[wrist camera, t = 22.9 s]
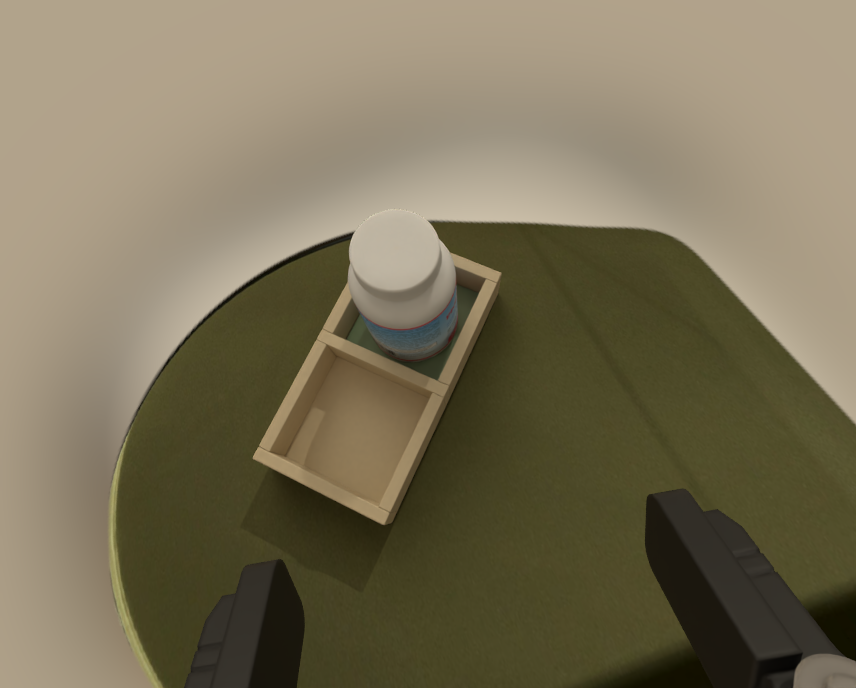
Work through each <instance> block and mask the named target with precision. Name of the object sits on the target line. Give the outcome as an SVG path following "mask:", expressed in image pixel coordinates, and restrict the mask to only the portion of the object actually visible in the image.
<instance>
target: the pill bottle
mask: <svg viewBox="0 0 856 688" xmlns="http://www.w3.org/2000/svg"><path fill="white" fill-rule="evenodd" d="M349 258H350V267H349V271H348V285H349V290H350V294H351V296H352V299H353V301H354V303H355V305H356V307H357V309H358V311H359V313H360V314H361V316H362V318H363V320H364V322H365V324H366V326H367V328H368V329H369V331H370V333H371V335H372V337H373V339H374V340H375V342H376V343H377V345H378V346H379V348H380V349H381V350H382V351H383V352H385V353H386V354H387V355H389V356H390V357H392V358H394V359H396V360H399V361H403V362H420V361H424V360H427V359H430V358H432V357H434V356H436V355H437V354H439V353H440V352H442V351H443V350H444V349H445V348H446V347H447V346H448V345H449V344H450V342H451V341H452V339H453V337H454V335H455V333H456V329H457V324H458V309H457V286H456V271H455V265H454V261H453V259H452V256H451V254H450V252H449V251H448V249H447V248H446V246H445V245H444V244H443V243H442V242H441V241H440V240H439V239H438V236H437V233H436V231H435V230H434V228H433V227H432V225H431V224H430V223H429V222H428V221H427V220H426V219H424V218H423V217H422V216H420V215H418V214H416V213H414V212H410V211H407V210H400V209H393V210H386V211H382V212H379V213H377V214H374V215H372V216H371V217H369V218H368V219H366V220H365V221H364V222H363V223H362V224H361V225H360V226H359V227H358V228H357V230H356V231H355V233H354V235H353V237H352V239H351V243H350V247H349Z"/></svg>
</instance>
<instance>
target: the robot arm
mask: <svg viewBox="0 0 856 688" xmlns="http://www.w3.org/2000/svg"><path fill="white" fill-rule="evenodd" d="M645 548H646V553H647V557H648V560H649V563H650V566H651V568H652V571H653V573H654V575H655V577H656V579H657V581H658V582H659V584H660V586H661V588H662V590H663V592H664V594H665V596H666V598H667V600H668V601H669V603H670V605H671V607H672V609H673V611H674V613H675V615H676V617H677V618H678V620H679V622H680V624H681V626H682V628H683V630H684V632H685V634H686V636H687V637H688V639H689V641H690V643H691V645H692V647H693V649H694V651H695V653H696V655H697V656H698V658H699V660H700V662H701V664H702V666H703V668H704V670H705V672H706V674H707V675H708V677H709V679H710V681H711V683H712V685H713V687H714V688H856V662H855V661H853V660H851V659H848V658H846V657H845V656H844V655H843V654H842V653H840V652H839V651H838V650H837V648H836V647H835V646H834V645H833V644H832V643H831V641H830V640H829V639H828V638H827V636H826V635H825V634H824V632H823V631H822V630H821V628H820V627H819V626H818V625H817V623H816V622H815V621H814V619H813V618H812V617H811V615H810V614H809V613H808V612H807V610H806V609H805V608H804V606H803V605H802V604H801V602H800V601H799V600H798V599H797V597H796V596H795V595H794V593H793V592H792V591H791V589H790V588H789V587H788V586H787V584H786V583H785V582H784V580H783V579H782V578H781V576H780V575H779V574H778V573H777V572H775V571H774V567H773V566H772V565H771V564H770V562H769V561H768V560H767V558H766V557H765V556H764V554H763V553H762V554H761V553H760V551H759V548H758V547H757V545H756V544H755V543H754V541H753V540H752V539H751V538H750V536H749V535H748V534H747V532H746V531H745V530H744V528H743V527H742V526H740V525H739V524H738V523H736V522H735V521H733V520H732V519H730V518H729V517H728V516H726V515H725V514H723V513H722V512H721V511H719V510H718V509H717V510H711V511H706V512H703V511H702V509H701V508H700V507H699V505H698V504H697V502H696V501H695V499H694V498H693V497H692V495H691V494H690V493H689V492H688V491H687V490H686V489H677V490H672V491H666V492H661V493H655V494H649V495H648V497H647V502H646V528H645ZM304 628H305V620H304V610H303V606H302V602H301V600H300V597H299V595H298V593H297V591H296V588H295V586H294V584H293V581H292V579H291V577H290V575H289V572H288V570H287V568H286V565H285V563H284V562H283V560H281V559H278V560H272V561H267V562H261V563H255V564H250V565H246V566H245V567H244V569H243V571H242V573H241V577H240V580H239V584H238V587H237V591H236V594H231V595H225V596H222V597H221V599H220V600H219V602H218V603H217V605H216V606H215V608H214V609H213V610H212V612H211V613H210V615H209V616H208V618H207V619H206V621H205V624H204V627H203V630H202V633H201V637H200V640H199V643H198V646H197V647H198V651H196V652H195V655H194V658H193V662H192V665H191V673H190V674H188V677H187V680H186V683H185V687H184V688H297V680H298V673H299V666H300V659H301V652H302V645H303V638H304Z"/></svg>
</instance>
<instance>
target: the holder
mask: <svg viewBox="0 0 856 688" xmlns="http://www.w3.org/2000/svg"><path fill="white" fill-rule="evenodd" d="M450 254H451V256H452V259H453V261H454V265H455V271H456V286H457V309H458V324H457V329H456V333H455V335H454V337H453V339H452V341H451V342H450V344H449V345H448V346H447V347H446V348H445V349H444V350H443V351H442V352H440V353H439V354H437V355H436V356H434V357H432V358H430V359H427V360H424V361H420V362H403V361H399V360H396V359H394V358H392V357H390V356H389V355H387V354H386V353H385V352H383V351H382V350H381V349H380V348H379V346H378V345H377V343H376V342H375V340H374V339H373V337H372V335H371V333H370V331H369V329H368V328H367V326H366V324H365V322H364V320H363V318H362V316H361V314H360V313H359V311H358V309H357V307H356V305H355V303H354V301H353V299H352V296H351V294H350V290H349V285H348V283H347V285H346V286H345V288H344V290H343V292H342V294H341V296H340V297H339V299H338V301H337V303H336V305H335V307H334V308H333V310H332V312H331V314H330V316H329V318H328V320H327V321H326V323H325V325H324V327H323V330H321V332H320V334H319V336H318V338H317V340H316V342H315V343H314V345H313V347H312V349H311V351H310V353H309V355H308V356H307V358H306V360H305V362H304V364H303V366H302V367H301V369H300V371H299V373H298V375H297V377H296V378H295V380H294V382H293V384H292V386H291V388H290V390H289V391H288V393H287V395H286V397H285V399H284V401H283V402H282V404H281V406H280V408H279V410H278V412H277V414H276V415H275V417H274V419H273V421H272V423H271V425H270V426H269V428H268V430H267V432H266V434H265V436H264V437H263V439H262V441H261V443H260V445H259V447H258V449H257V450H256V452H255V454H254V456H253V459H254V460H256V461H258V462H260V463H262V464H264V465H266V466H268V467H270V468H272V469H274V470H276V471H277V472H279V473H281V474H283V475H285V476H287V477H289V478H291V479H293V480H295V481H297V482H299V483H301V484H303V485H305V486H307V487H309V488H311V489H313V490H315V491H317V492H319V493H321V494H323V495H325V496H327V497H329V498H330V499H332V500H334V501H336V502H338V503H340V504H342V505H344V506H346V507H348V508H350V509H352V510H354V511H356V512H358V513H360V514H362V515H364V516H366V517H368V518H370V519H372V520H374V521H376V522H378V523H380V524H382V525H387V524H390V523H392V522H393V520H394V517H395V515H396V513H397V511H398V509H399V507H400V504H401V502H402V500H403V498H404V496H405V494H406V491H407V489H408V487H409V485H410V483H411V481H412V479H413V476H414V474H415V472H416V470H417V468H418V466H419V463H420V461H421V459H422V457H423V455H424V453H425V450H426V448H427V446H428V444H429V442H430V440H431V437H432V435H433V433H434V431H435V429H436V427H437V425H438V422H439V420H440V418H441V416H442V414H443V412H444V409H445V407H446V405H447V403H448V401H449V399H450V396H451V394H452V392H453V390H454V388H455V386H456V383H457V381H458V379H459V377H460V375H461V373H462V370H463V368H464V366H465V364H466V362H467V360H468V358H469V355H470V353H471V351H472V349H473V347H474V345H475V342H476V340H477V338H478V336H479V334H480V332H481V329H482V327H483V325H484V323H485V321H486V319H487V316H488V314H489V312H490V310H491V308H492V306H493V304H494V301H495V299H496V297H497V295H498V292H499V286H500V280H501V274H502V273H500V272H497V271H495V270H492V269H490V268H487V267H485V266H482V265H480V264H477V263H475V262H472V261H470V260H467V259H465V258H462V257H460V256H457V255H455V254H452V253H450Z"/></svg>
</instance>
